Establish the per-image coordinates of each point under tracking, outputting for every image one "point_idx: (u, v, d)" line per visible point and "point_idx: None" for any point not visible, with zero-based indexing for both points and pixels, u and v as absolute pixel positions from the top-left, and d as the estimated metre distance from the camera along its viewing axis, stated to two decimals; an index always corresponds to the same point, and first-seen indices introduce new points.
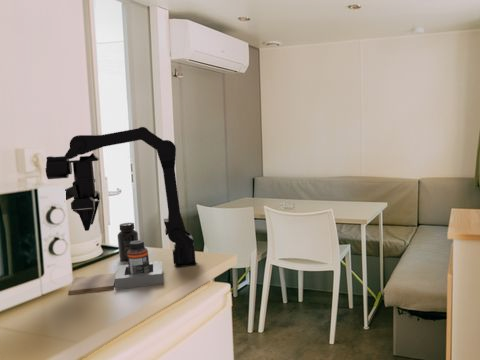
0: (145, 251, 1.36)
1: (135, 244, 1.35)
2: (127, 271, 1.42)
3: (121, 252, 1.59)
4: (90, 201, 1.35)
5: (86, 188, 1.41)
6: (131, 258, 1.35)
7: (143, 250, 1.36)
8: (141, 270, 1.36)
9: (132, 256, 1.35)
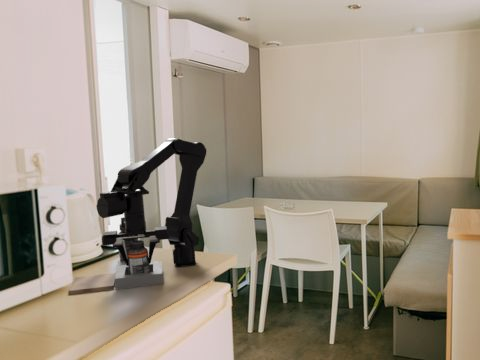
0: (145, 251, 1.36)
1: (135, 244, 1.35)
2: (127, 271, 1.42)
3: None
4: (102, 238, 1.33)
5: (125, 224, 1.35)
6: (131, 258, 1.35)
7: (143, 250, 1.36)
8: (141, 270, 1.36)
9: (132, 256, 1.35)
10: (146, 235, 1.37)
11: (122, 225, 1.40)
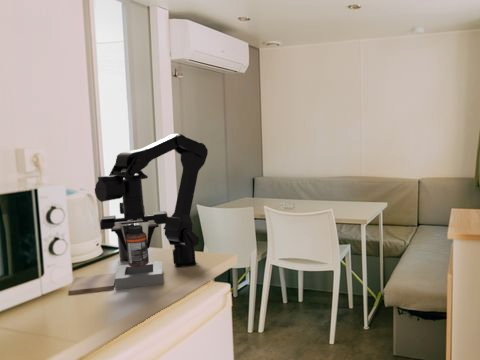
0: (144, 236, 1.36)
1: (134, 228, 1.35)
2: (127, 271, 1.42)
3: (121, 252, 1.59)
4: (100, 222, 1.33)
5: (123, 208, 1.35)
6: (130, 243, 1.35)
7: (142, 235, 1.35)
8: (140, 255, 1.35)
9: (130, 241, 1.34)
10: (145, 220, 1.37)
11: (121, 210, 1.40)
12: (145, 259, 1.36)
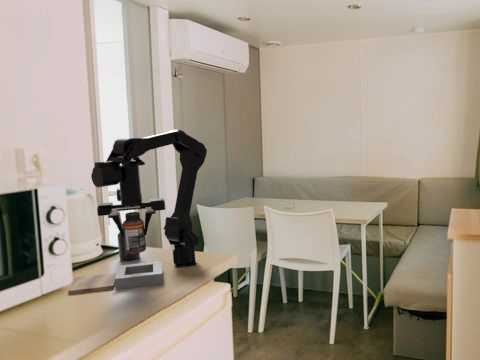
0: (141, 222, 1.35)
1: (131, 215, 1.34)
2: (127, 271, 1.42)
3: (121, 252, 1.59)
4: (97, 209, 1.32)
5: (120, 194, 1.34)
6: (127, 229, 1.34)
7: (139, 221, 1.35)
8: (137, 242, 1.34)
9: (127, 227, 1.34)
10: (142, 206, 1.36)
11: (118, 197, 1.39)
12: (143, 246, 1.36)
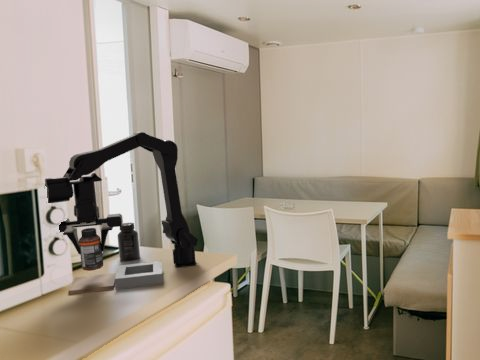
0: (97, 239, 1.34)
1: (86, 232, 1.33)
2: (127, 271, 1.42)
3: (121, 252, 1.59)
4: None
5: (76, 211, 1.33)
6: (82, 246, 1.32)
7: (95, 238, 1.33)
8: (93, 258, 1.33)
9: (83, 244, 1.32)
10: (98, 222, 1.34)
11: (75, 213, 1.38)
12: (99, 263, 1.34)
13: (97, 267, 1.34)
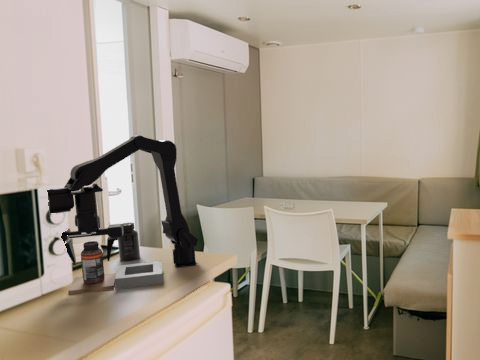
0: (99, 252, 1.34)
1: (88, 245, 1.33)
2: (127, 271, 1.42)
3: (121, 252, 1.59)
4: None
5: (77, 221, 1.33)
6: (84, 259, 1.33)
7: (97, 251, 1.34)
8: (94, 272, 1.33)
9: (85, 258, 1.33)
10: (99, 233, 1.35)
11: (76, 223, 1.38)
12: (100, 276, 1.34)
13: (98, 280, 1.34)
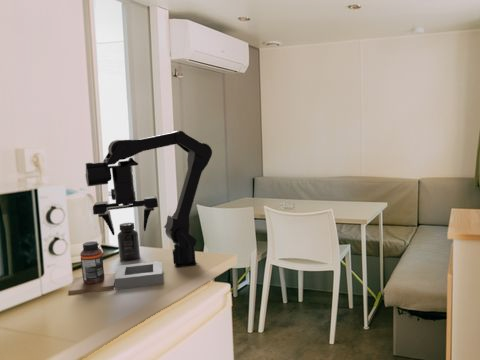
0: (98, 252, 1.34)
1: (88, 245, 1.33)
2: (127, 271, 1.42)
3: (121, 252, 1.59)
4: (93, 208, 1.38)
5: (114, 194, 1.41)
6: (84, 260, 1.33)
7: (96, 251, 1.34)
8: (94, 272, 1.33)
9: (84, 258, 1.33)
10: (135, 204, 1.43)
11: (112, 196, 1.46)
12: (100, 276, 1.34)
13: (98, 281, 1.34)
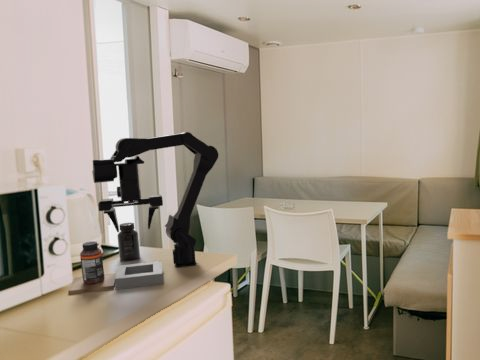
0: (98, 252, 1.34)
1: (88, 245, 1.33)
2: (127, 271, 1.42)
3: (121, 252, 1.59)
4: (98, 204, 1.40)
5: (120, 191, 1.42)
6: (84, 260, 1.33)
7: (96, 251, 1.34)
8: (94, 272, 1.33)
9: (84, 258, 1.33)
10: (141, 202, 1.44)
11: (118, 193, 1.47)
12: (100, 276, 1.34)
13: (98, 280, 1.34)
